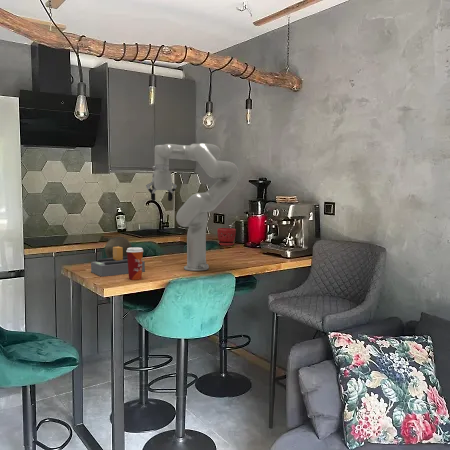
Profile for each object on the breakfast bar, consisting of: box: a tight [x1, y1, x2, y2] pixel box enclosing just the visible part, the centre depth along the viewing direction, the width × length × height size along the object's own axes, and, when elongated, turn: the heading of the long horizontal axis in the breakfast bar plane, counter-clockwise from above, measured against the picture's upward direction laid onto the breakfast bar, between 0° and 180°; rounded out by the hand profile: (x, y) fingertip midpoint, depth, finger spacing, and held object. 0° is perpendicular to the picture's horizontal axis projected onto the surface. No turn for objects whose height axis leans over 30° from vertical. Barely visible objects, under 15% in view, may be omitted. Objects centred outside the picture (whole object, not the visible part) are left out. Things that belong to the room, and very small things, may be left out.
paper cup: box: [126, 246, 144, 281], centre depth 209 cm, size 8×8×14 cm
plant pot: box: [216, 227, 237, 247], centre depth 328 cm, size 13×13×12 cm
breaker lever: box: [113, 246, 123, 261], centre depth 225 cm, size 5×3×8 cm, turn 36°
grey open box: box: [90, 257, 146, 278], centre depth 225 cm, size 14×22×6 cm, turn 126°
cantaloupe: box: [104, 236, 132, 258], centre depth 244 cm, size 14×14×15 cm
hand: (161, 200), depth 245 cm, fingers open, 9 cm apart
